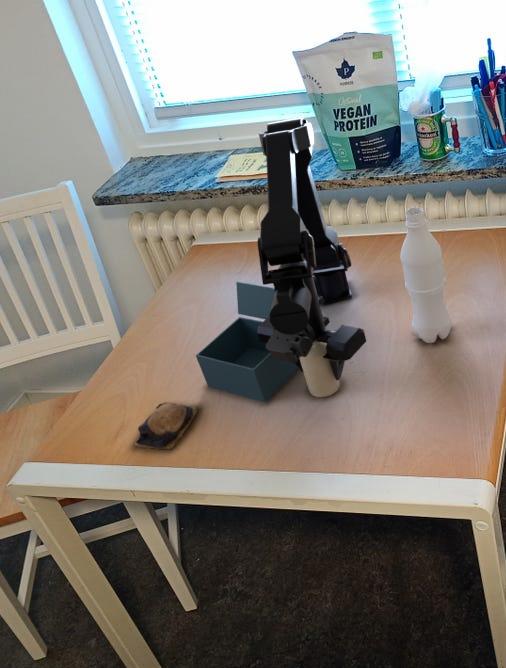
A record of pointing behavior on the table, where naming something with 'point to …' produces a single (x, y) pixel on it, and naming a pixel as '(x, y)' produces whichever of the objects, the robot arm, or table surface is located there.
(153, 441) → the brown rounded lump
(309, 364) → the candle
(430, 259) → the water bottle
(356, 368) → the table surface
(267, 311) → the flap
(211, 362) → the carton
